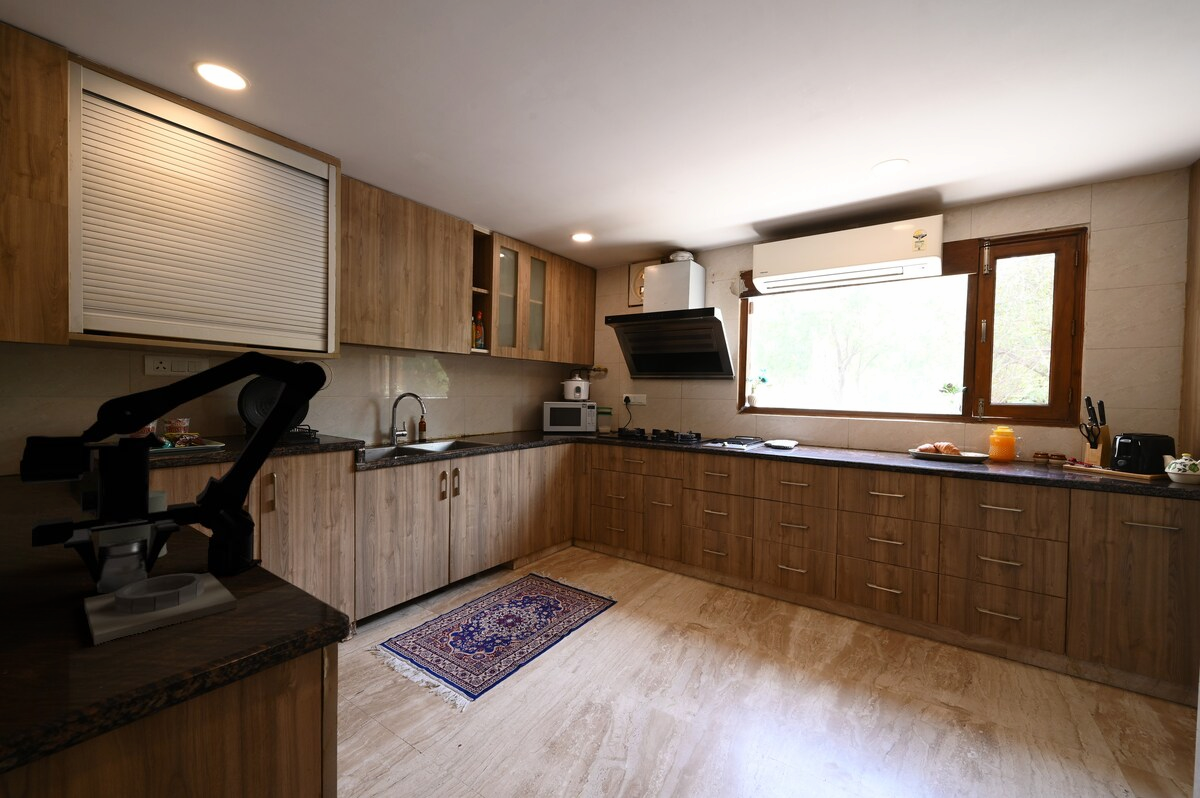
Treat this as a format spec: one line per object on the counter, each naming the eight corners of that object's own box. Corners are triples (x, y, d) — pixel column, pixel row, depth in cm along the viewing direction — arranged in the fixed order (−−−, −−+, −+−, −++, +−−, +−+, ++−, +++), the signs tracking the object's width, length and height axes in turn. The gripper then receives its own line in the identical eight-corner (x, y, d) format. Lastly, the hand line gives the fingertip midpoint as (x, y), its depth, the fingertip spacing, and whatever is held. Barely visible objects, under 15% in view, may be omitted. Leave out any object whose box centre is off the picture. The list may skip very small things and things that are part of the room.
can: (118, 551, 92) (119, 489, 92) (177, 548, 95) (178, 487, 95) (83, 568, 83) (84, 498, 84) (149, 563, 86) (150, 496, 86)
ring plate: (84, 607, 68) (84, 584, 68) (209, 579, 79) (209, 560, 79) (94, 645, 58) (94, 618, 58) (236, 608, 69) (237, 585, 69)
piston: (122, 580, 78) (123, 536, 78) (157, 580, 78) (157, 537, 78) (85, 594, 73) (86, 547, 73) (122, 594, 73) (123, 548, 73)
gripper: (190, 466, 88) (189, 552, 88) (32, 478, 74) (30, 580, 74) (204, 473, 81) (203, 566, 81) (32, 487, 66) (30, 601, 66)
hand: (122, 577), depth 76 cm, fingers closed on piston, 5 cm apart
